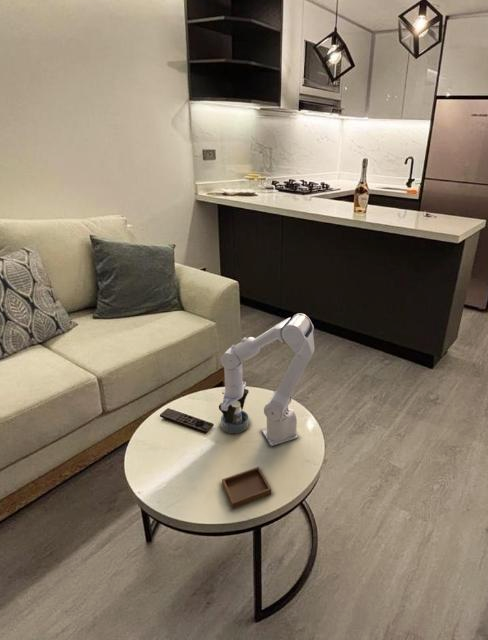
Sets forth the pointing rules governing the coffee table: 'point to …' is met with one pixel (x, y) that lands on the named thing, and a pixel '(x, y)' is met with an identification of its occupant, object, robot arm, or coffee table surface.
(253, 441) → the coffee table surface
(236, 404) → the pill bottle
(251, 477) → the tray
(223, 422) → the bowl
